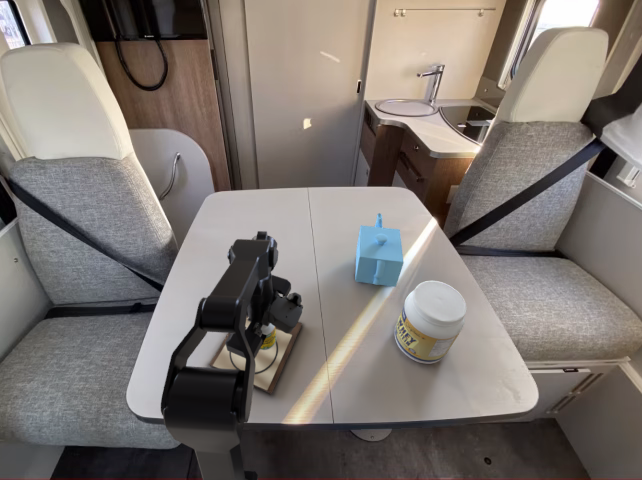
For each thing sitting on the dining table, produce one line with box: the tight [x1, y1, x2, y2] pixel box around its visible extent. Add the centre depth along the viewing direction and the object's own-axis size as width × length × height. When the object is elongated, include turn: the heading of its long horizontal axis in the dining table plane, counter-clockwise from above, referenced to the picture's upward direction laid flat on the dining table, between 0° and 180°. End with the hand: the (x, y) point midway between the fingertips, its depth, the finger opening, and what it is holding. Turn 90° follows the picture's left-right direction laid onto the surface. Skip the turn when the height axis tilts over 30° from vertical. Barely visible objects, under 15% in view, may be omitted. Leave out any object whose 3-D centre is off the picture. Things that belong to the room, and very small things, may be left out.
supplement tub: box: [394, 280, 468, 365], centre depth 70 cm, size 12×12×17 cm
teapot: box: [354, 212, 405, 288], centre depth 89 cm, size 22×11×14 cm, turn 169°
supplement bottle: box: [257, 323, 276, 350], centre depth 68 cm, size 5×5×10 cm
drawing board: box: [208, 316, 303, 395], centre depth 75 cm, size 18×16×1 cm
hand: (264, 334), depth 69 cm, fingers closed on supplement bottle, 5 cm apart
